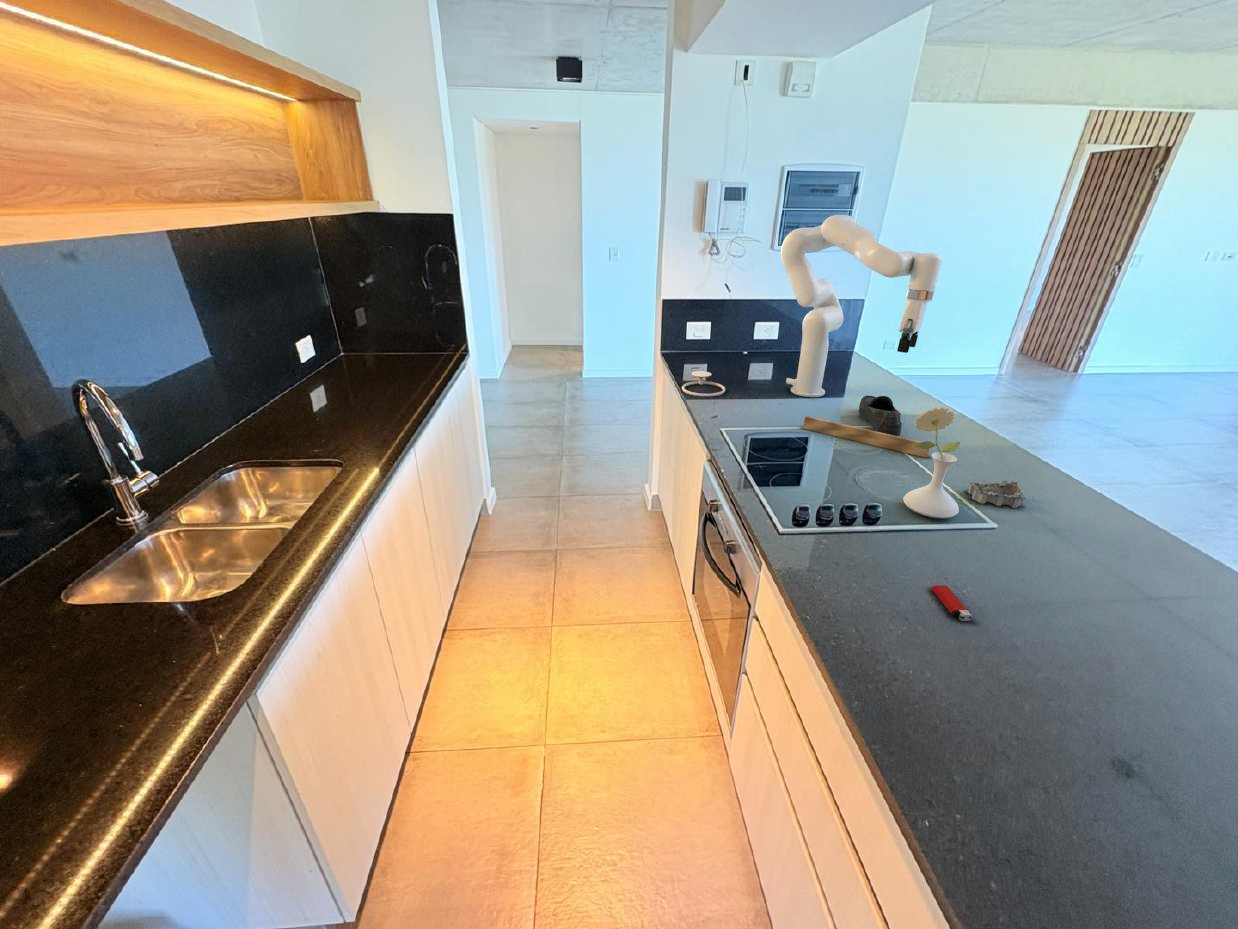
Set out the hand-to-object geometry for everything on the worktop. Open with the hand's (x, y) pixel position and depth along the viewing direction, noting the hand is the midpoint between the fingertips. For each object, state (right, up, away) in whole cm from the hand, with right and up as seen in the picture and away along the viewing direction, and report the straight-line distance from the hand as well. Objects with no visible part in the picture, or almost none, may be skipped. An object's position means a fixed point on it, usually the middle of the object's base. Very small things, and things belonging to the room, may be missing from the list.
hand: (906, 349), depth 174 cm
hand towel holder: (-62, -8, +34) cm, 71 cm away
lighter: (-36, -63, -80) cm, 108 cm away
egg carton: (-4, -47, -46) cm, 65 cm away
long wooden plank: (-21, -31, -14) cm, 40 cm away
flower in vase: (-23, -49, -50) cm, 74 cm away
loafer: (-10, -25, -1) cm, 27 cm away
